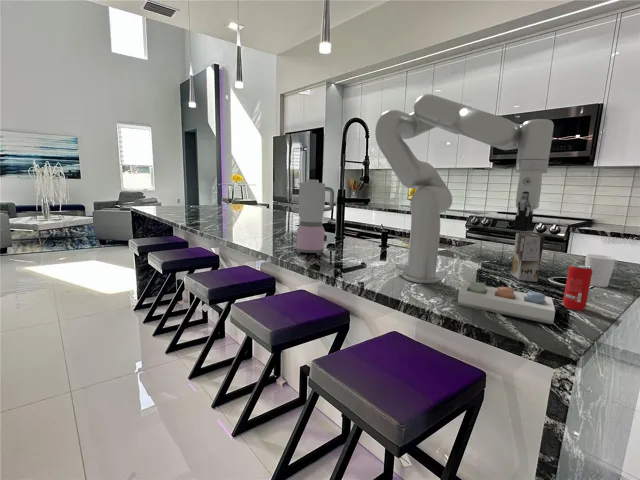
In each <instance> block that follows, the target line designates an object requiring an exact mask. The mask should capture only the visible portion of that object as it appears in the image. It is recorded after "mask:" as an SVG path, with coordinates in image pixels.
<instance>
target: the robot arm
mask: <svg viewBox="0 0 640 480" xmlns="http://www.w3.org/2000/svg"><path fill="white" fill-rule="evenodd" d="M412 109H413V112H411V113H406V112H404V111H401V110H398V109H388V110H387V111H386V110H385V112H383V113H382V114H380V116H379V118H378V119H377V121H376V125H375V130H374V131H375V141H376V143H377V147H378V148H379V149H380V152H381V153H382V155H383V156H384V158H385V159H386V161H387V163H388V164H389V167H390V168H391V169H392V171H393V173H394V175H396V178H397V179H398V181H399V182H400V184H401V185H402V186H403V187H405V188H407V189H416V190H415V191H414V192H413V193H412V196H411V199H410V214H411V215H410V216H411V217H410V231H409V233H410V235H409V243H408V244H409V245H408V254H407V255H408V256H407V262H406V263H400V262H396V263H395V268H396V270H399V271H403V272H402V273H401V277H402V278H403V280H407V281H410V282H414V283H419V284H436V283H439V282H440V280H441V277H440V276H439V274H436V273H437V263H438V257H439V256H438V254H439V247H440V246H439V245H440V235H441V216H440V215H441V214H443V213H445V212H447V211H449V209H450V208H451V206H452V205H453V195H452V193H451V191H450V189H449V187H448V186H447V184H446V183H445V181H444V180H443V179H442V177H441V175H440V174H439V173H438V171H437V169H436V168H435V167H434V166H433V165H431V164H430V163H428V162H427V161H422V160H419V159H418V158H417V156H416V155H415V154H414V152H413V151H412V150H411V148H410V147H409V145H408V144H407V142H405V141H404V140H407V139H409V140H410V139H413V138H415V137H418V136H420V135H422V134H425V133H427V132H429V131H431V130H433V129H435V128H438V129H441V130H444V131H445V132H448V133H451V134H455V135H461V136H463V137H466V138H467V137H468V138H469V139H473V140H475V141H478V142H481V143H484V144H486V145H487V146H488V145H489V146H490V147H494V148H496V149H499V150H503V151H510V150H517V154H516V164H515V170H514V173H518V180H517V182H518V183H517V189H516V198H515V207H516V208H517V209H516V215H515V219H514V223H513V224H514V225H513V231H517V232H518V231H520V232H527V231H528V229H531V228H532V226H533V219H534V214H533V213H534V210H536V209H539V206H540V198H541V191H542V184H543V183H542V182H543V174H547V173H548V168H549V162H550V161H549V160H550V155H551V147H552V142H553V134H554V128H555V127H554V126H555V124H554V122H553V121H552V119H551V120H550V119H547V118H546V119H544V118H536V119H529V120H526V121H524V122H523V123H515V122H514V121H512V120H510V119H509V118H506V117H503V116H500V115H498V114H497V115H496V114H494V113H490V112H488V111H485V110H480V109H478V108H473V107H472V106H470V105H466V104H464V103H463V104H462V103H460V102H456V101H453V100H450V99H447V98H445V97H440V96H438V95H434V94H431V93H429V94H428V93H427V94H423V95H421V96H419V97H418V98H417V99H416V101H415V102H414V105H413V108H412Z"/></svg>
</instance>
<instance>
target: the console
mask: <svg viewBox="0 0 640 480" xmlns="http://www.w3.org/2000/svg"><path fill="white" fill-rule="evenodd" d="M469 288H470V282H464V283H463V285H462V286H461V288H460V289H459V291H458V295H457V296H458V297H457V304H456V305H457V306H463V307H466V308H472V309H476V310H481V311H486V312H491V313H495V314H501V315H506V316H510V317H515V318H520V319H524V320H530V321H534V322H535V321H536V322H540V323H545V324H548V325H549V324H550V325H553V324H554V323H555V322H554V321H555V320H554V319H555V314H556V307H555V306H554V302H553V299H552V297H550V296H546V295H545V300H544V305H542V304H536V303H531V302H526V297H527V292H522V291H516V290H514V296H513V299H509V298H503V297H498V296H497V289H498V287H493V286H487V285H486V287H485V294H481V293H476V292H471V291H469Z"/></svg>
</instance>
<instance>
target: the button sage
mask: <svg viewBox="0 0 640 480" xmlns="http://www.w3.org/2000/svg"><path fill="white" fill-rule="evenodd" d="M469 283H470V288H469V291H471V292H476V293H481V294H485V287H486V286H487V285H486V284H485V283H483V282H478V281H470V282H469Z"/></svg>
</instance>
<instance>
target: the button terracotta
mask: <svg viewBox="0 0 640 480" xmlns="http://www.w3.org/2000/svg"><path fill="white" fill-rule="evenodd" d="M497 288H498V289H497V296H498V297H503V298H509V299H513V296H514V291H515V289H513V288H512V287H508V286H498V287H497Z"/></svg>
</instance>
